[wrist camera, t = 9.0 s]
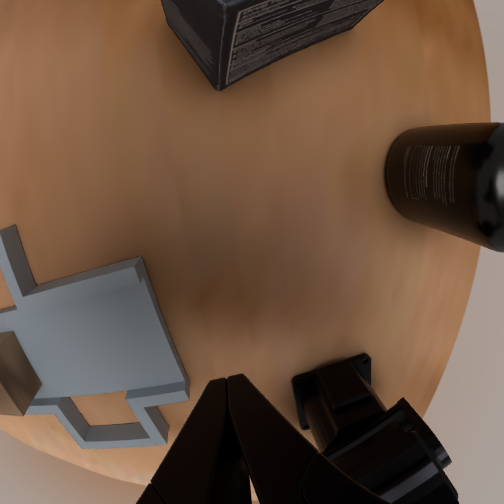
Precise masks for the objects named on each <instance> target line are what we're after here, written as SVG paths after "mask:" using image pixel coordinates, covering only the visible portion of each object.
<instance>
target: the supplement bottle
mask: <svg viewBox="0 0 504 504" xmlns="http://www.w3.org/2000/svg"><path fill="white" fill-rule="evenodd" d="M387 184H388V189H389V192H390V195H391V198H392V200H393V202H394V204H395V205H396V207H397V208H398V210H399V211H400V212H401V213H402V214H403V215H404V216H405V217H407V218H408V219H410V220H412V221H414V222H417V223H420V224H422V225H425V226H428V227H431V228H434V229H437V230H440V231H443V232H445V233H448V234H451V235H454V236H457V237H459V238H462V239H465V240H467V241H470V242H473V243H475V244H478V245H481V246H483V247H486V248H488V249H491V250H494V251H497V252H504V123H498V122H495V123H467V124H451V125H437V126H427V127H418V128H414V129H411V130H408V131H407V132H405V133H404V134H402V135H401V136H400V137H399V138H398V139H397V141H396V142H395V144H394V145H393V147H392V149H391V152H390V154H389V158H388V162H387Z"/></svg>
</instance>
